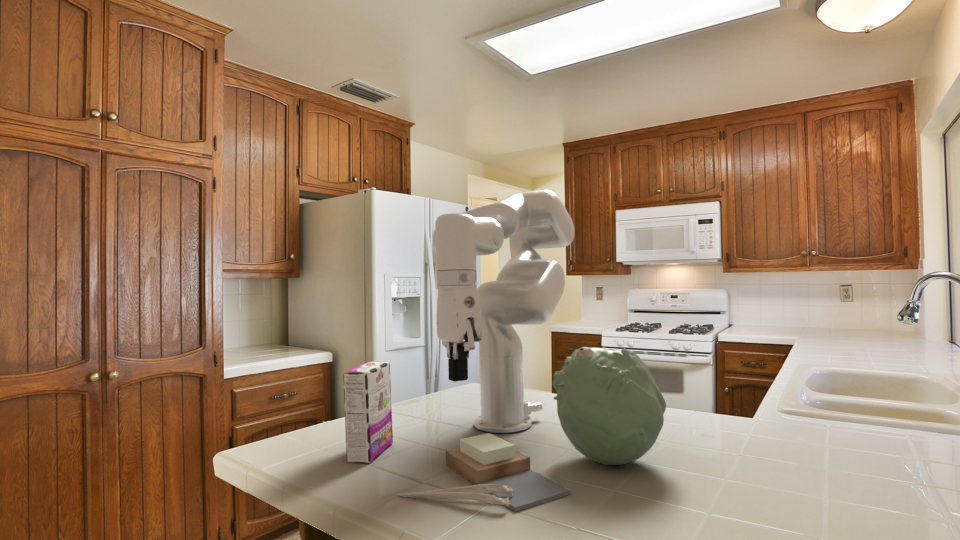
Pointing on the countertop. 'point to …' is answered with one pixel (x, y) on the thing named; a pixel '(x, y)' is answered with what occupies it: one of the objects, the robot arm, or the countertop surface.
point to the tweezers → (468, 493)
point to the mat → (529, 489)
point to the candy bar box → (367, 411)
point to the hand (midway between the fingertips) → (458, 379)
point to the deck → (485, 466)
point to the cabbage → (608, 404)
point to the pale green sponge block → (487, 448)
